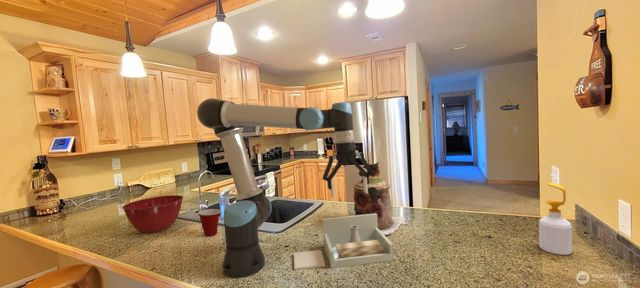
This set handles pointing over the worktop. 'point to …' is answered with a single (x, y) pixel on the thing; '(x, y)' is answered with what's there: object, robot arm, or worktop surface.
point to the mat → (308, 260)
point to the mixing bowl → (153, 213)
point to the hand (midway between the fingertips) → (349, 195)
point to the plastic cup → (209, 221)
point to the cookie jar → (376, 201)
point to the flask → (354, 234)
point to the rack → (367, 229)
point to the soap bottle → (555, 228)
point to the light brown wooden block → (359, 249)
